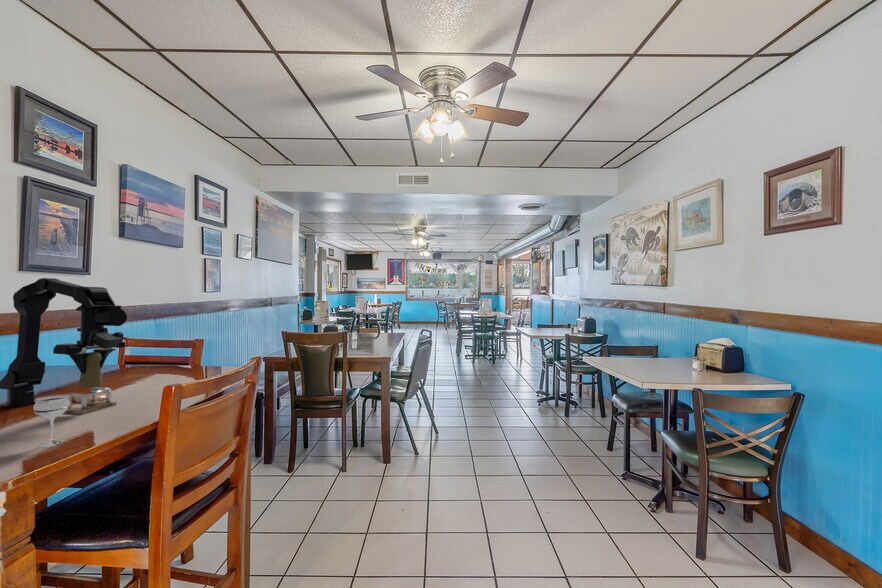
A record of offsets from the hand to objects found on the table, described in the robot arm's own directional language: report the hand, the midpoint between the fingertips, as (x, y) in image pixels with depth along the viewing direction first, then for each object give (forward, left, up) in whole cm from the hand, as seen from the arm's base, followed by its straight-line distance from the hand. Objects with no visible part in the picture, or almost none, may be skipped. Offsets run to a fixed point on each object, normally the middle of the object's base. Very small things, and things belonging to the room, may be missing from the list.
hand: (91, 372), depth 128 cm
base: (-3, +2, -13) cm, 13 cm away
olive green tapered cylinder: (0, 0, -5) cm, 5 cm away
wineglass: (+18, -25, -13) cm, 33 cm away
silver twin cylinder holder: (-3, +2, -13) cm, 13 cm away
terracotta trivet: (-13, +12, -13) cm, 22 cm away
